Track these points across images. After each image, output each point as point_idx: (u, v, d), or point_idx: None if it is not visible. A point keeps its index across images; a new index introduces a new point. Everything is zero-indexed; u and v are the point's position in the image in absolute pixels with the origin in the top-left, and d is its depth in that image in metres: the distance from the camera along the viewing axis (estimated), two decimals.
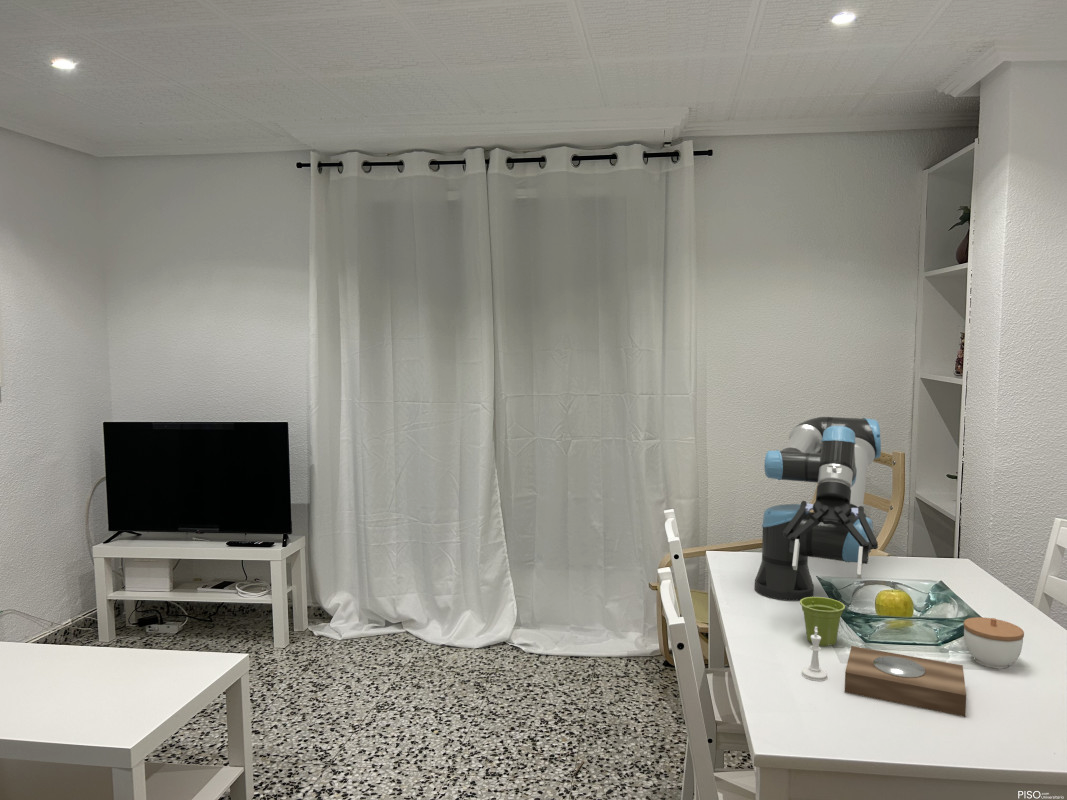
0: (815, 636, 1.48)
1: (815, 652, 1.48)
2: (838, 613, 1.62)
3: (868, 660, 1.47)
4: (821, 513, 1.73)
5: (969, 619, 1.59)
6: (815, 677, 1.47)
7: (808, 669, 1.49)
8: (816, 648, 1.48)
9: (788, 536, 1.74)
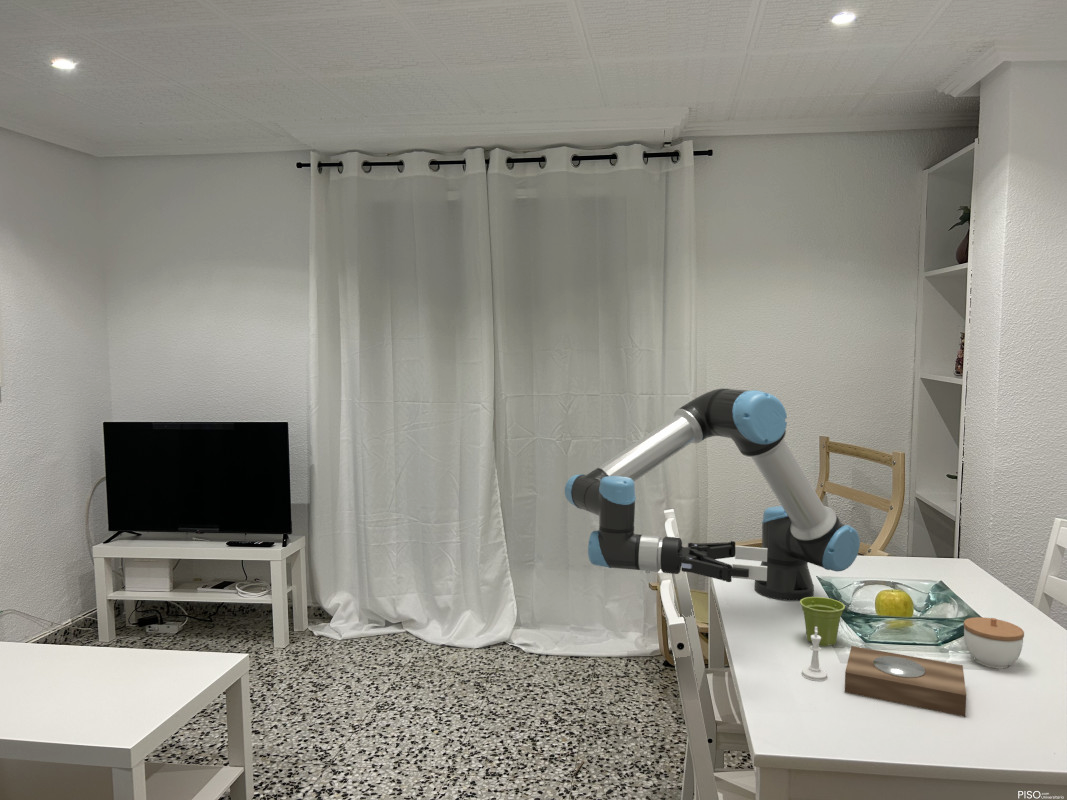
0: (815, 636, 1.48)
1: (815, 652, 1.48)
2: (838, 613, 1.62)
3: (868, 660, 1.47)
4: None
5: (969, 619, 1.59)
6: (815, 677, 1.47)
7: (808, 669, 1.49)
8: (816, 648, 1.48)
9: None
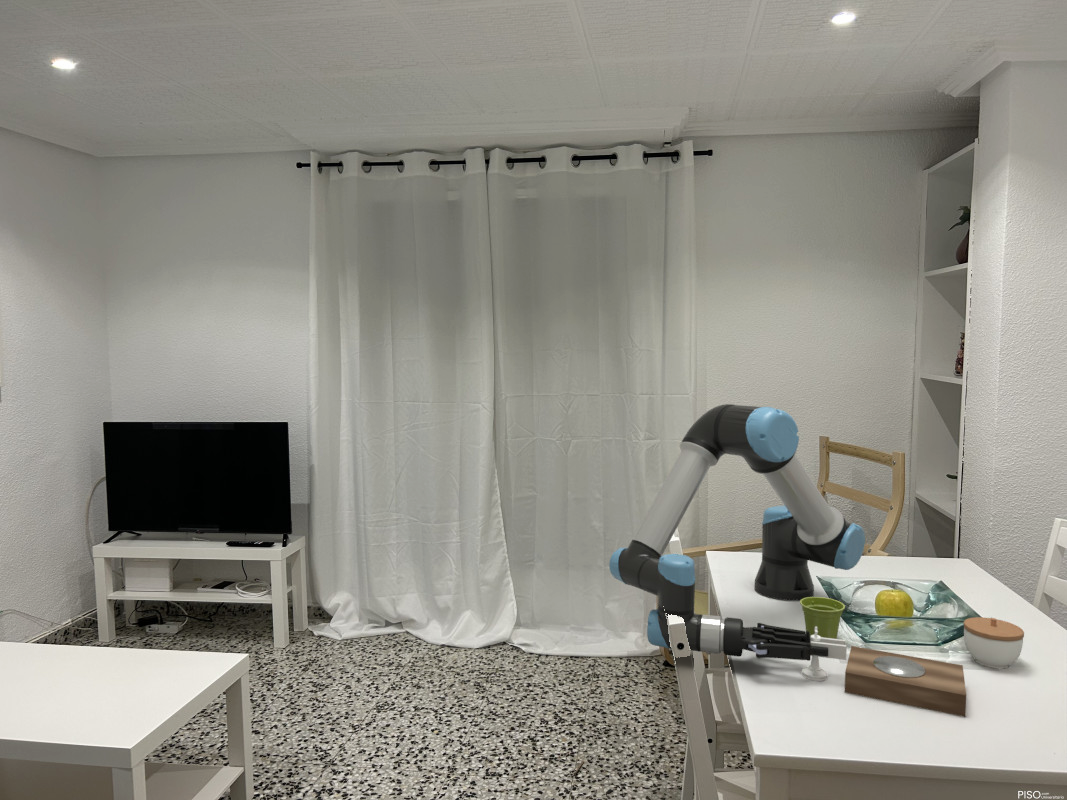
0: (815, 636, 1.48)
1: None
2: (838, 613, 1.62)
3: (868, 660, 1.47)
4: None
5: (969, 619, 1.59)
6: (815, 677, 1.47)
7: (808, 669, 1.49)
8: None
9: None
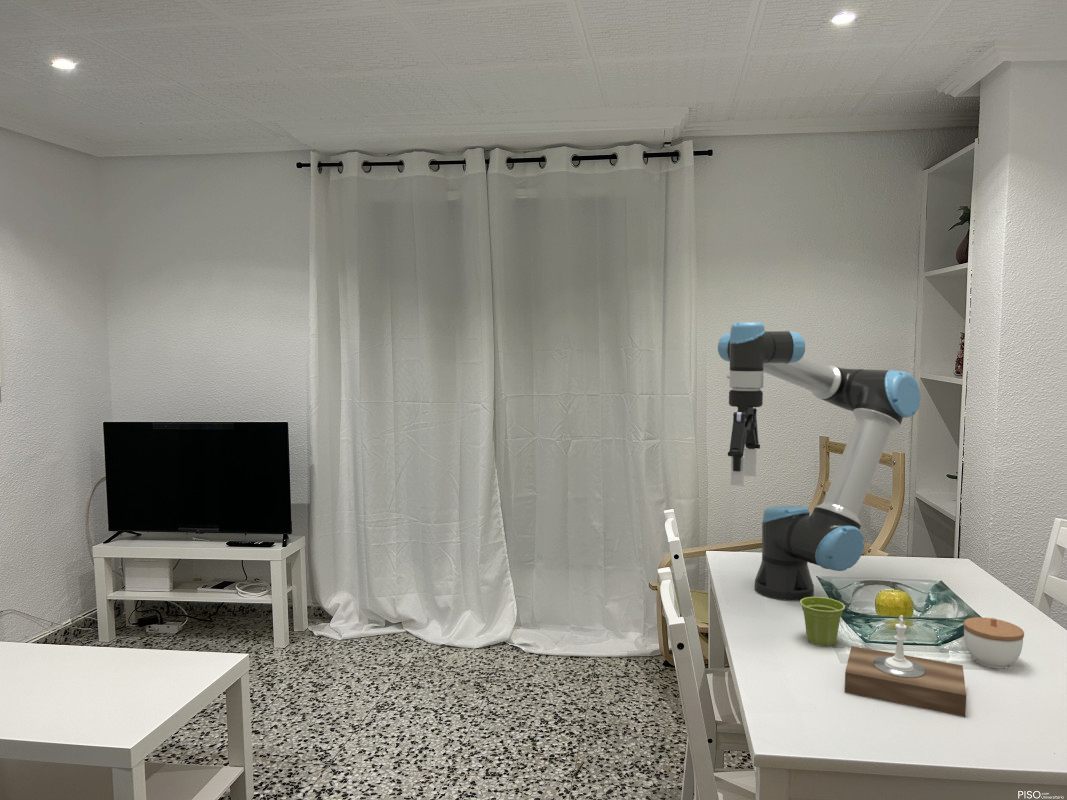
0: (900, 625, 1.43)
1: (900, 641, 1.43)
2: (838, 613, 1.62)
3: (868, 660, 1.47)
4: None
5: (969, 619, 1.59)
6: (901, 667, 1.41)
7: (892, 659, 1.44)
8: (901, 638, 1.42)
9: None
